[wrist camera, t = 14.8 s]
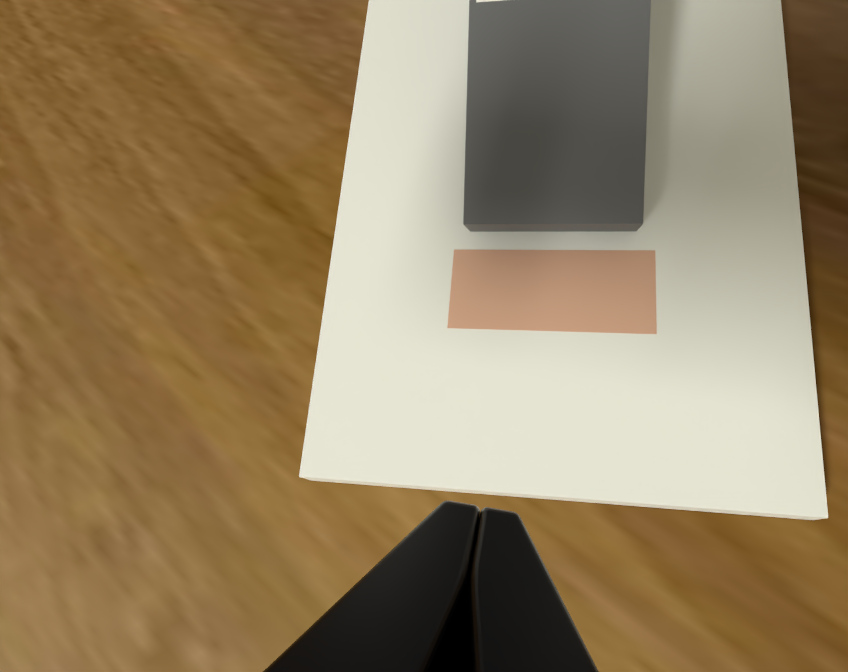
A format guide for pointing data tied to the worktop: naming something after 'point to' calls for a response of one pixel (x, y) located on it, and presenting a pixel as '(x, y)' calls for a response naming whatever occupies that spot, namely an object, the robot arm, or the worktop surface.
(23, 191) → the worktop surface
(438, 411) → the domino board
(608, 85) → the domino
